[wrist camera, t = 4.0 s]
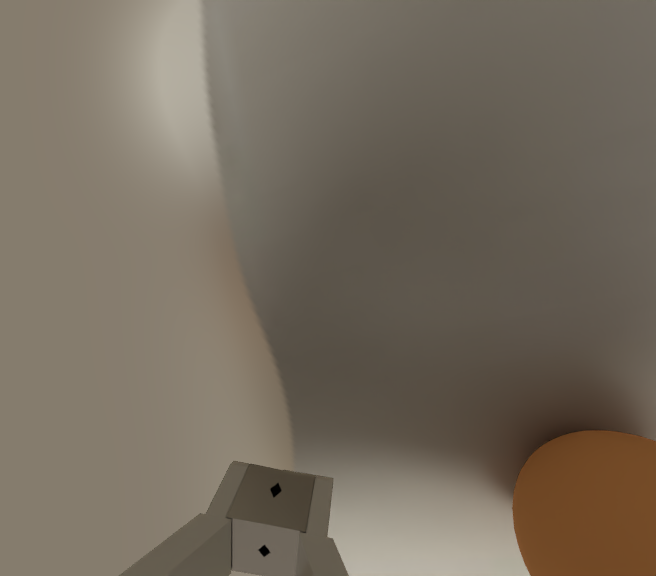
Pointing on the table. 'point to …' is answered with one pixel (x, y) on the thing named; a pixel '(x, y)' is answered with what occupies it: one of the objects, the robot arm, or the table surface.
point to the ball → (588, 506)
